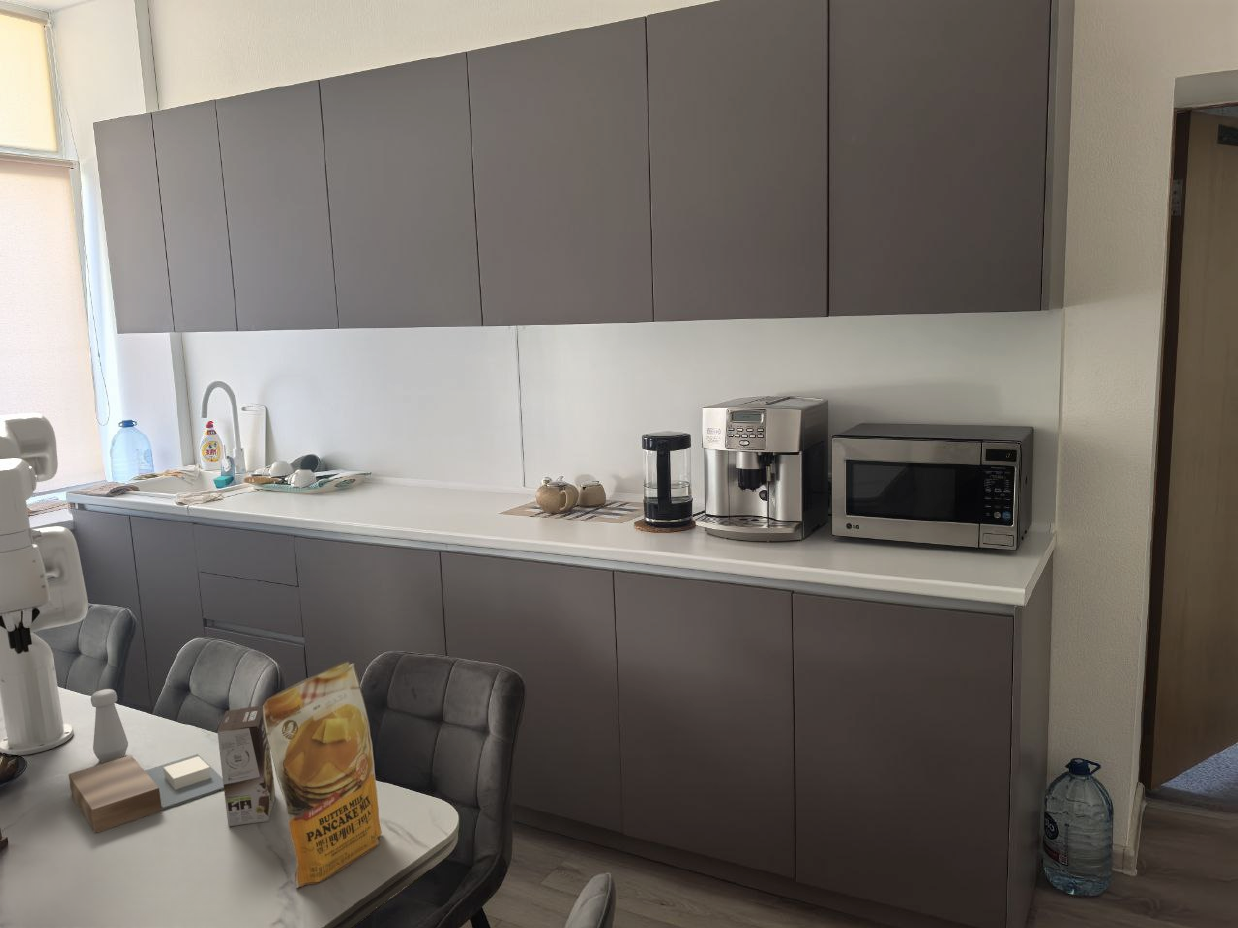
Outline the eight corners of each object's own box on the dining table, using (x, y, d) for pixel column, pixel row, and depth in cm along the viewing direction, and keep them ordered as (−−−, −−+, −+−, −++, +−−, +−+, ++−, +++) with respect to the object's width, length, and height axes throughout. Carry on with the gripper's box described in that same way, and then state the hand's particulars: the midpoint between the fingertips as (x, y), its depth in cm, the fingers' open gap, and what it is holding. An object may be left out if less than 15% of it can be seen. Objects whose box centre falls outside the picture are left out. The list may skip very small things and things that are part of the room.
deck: (71, 795, 171) (68, 773, 171) (134, 775, 177) (131, 754, 177) (95, 832, 158) (92, 809, 158) (162, 810, 164) (159, 787, 164)
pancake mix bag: (267, 885, 141) (245, 698, 137) (368, 823, 157) (351, 653, 152) (298, 899, 138) (277, 707, 133) (399, 834, 153) (383, 660, 149)
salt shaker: (131, 759, 184) (122, 692, 182) (97, 768, 181) (87, 700, 179) (126, 748, 189) (117, 683, 187) (93, 757, 186) (83, 690, 184)
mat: (135, 775, 178) (135, 773, 178) (198, 755, 184) (197, 753, 184) (163, 809, 165) (163, 807, 165) (229, 787, 171) (229, 785, 171)
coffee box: (269, 821, 159) (258, 725, 157) (227, 827, 158) (215, 731, 155) (276, 794, 168) (266, 703, 165) (236, 800, 167) (225, 708, 164)
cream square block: (198, 755, 179) (200, 766, 179) (163, 767, 175) (164, 777, 175) (209, 766, 174) (211, 777, 174) (173, 778, 170) (175, 789, 171)
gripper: (52, 530, 169) (67, 634, 172) (-54, 547, 159) (-36, 657, 162) (61, 537, 163) (77, 644, 166) (-47, 555, 154) (-29, 669, 157)
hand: (21, 650), depth 164 cm, fingers closed
